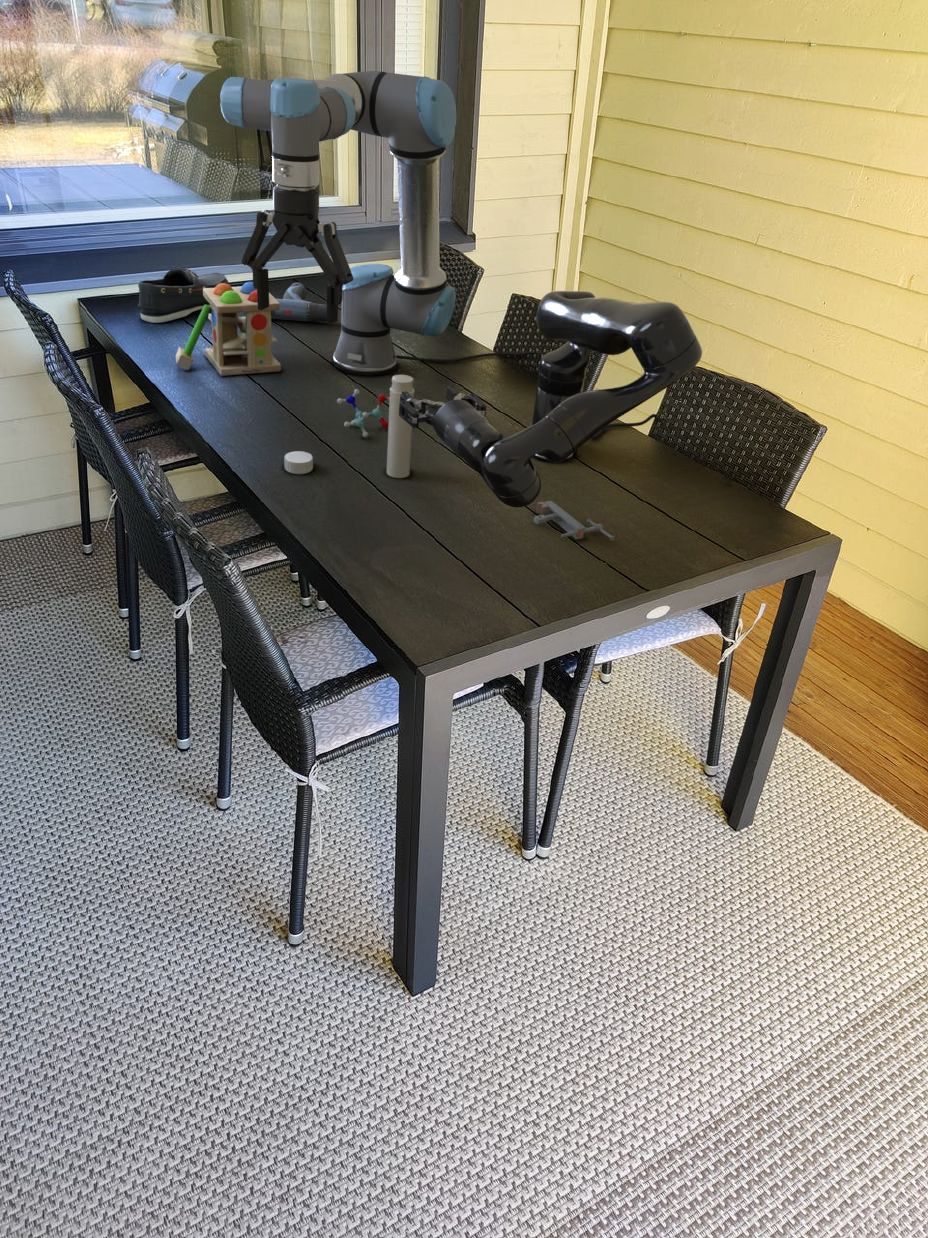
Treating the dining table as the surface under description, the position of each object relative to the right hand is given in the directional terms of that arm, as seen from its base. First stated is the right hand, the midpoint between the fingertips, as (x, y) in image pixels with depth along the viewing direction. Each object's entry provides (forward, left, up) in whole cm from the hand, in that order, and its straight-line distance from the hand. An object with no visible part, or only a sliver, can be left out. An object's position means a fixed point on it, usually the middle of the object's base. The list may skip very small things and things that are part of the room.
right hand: (426, 393), depth 172 cm
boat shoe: (+17, -119, -20) cm, 122 cm away
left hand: (+18, -18, +9) cm, 27 cm away
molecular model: (-1, -32, -20) cm, 38 cm away
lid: (+18, -18, -18) cm, 31 cm away
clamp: (-21, +19, -20) cm, 35 cm away
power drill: (-13, -108, -20) cm, 111 cm away
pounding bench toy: (+18, -74, -20) cm, 79 cm away
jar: (0, -11, -20) cm, 23 cm away
